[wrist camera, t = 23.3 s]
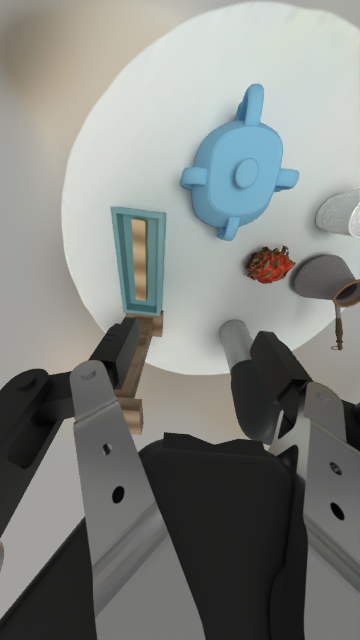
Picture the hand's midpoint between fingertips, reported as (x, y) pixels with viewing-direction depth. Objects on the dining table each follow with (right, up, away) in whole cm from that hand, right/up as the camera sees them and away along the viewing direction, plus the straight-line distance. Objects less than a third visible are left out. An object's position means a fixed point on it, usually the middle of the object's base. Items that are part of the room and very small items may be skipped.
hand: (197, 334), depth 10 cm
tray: (-11, +16, +33) cm, 39 cm away
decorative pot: (+9, +30, +23) cm, 39 cm away
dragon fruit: (+22, +17, +32) cm, 42 cm away
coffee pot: (+37, +10, +36) cm, 52 cm away
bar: (-11, +17, +32) cm, 38 cm away
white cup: (+33, +26, +25) cm, 49 cm away
